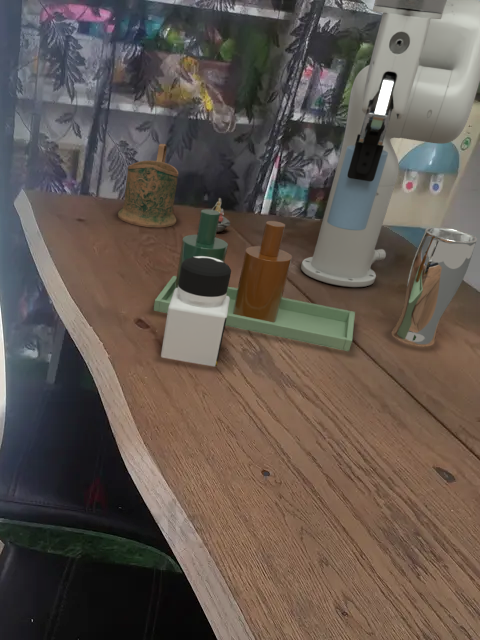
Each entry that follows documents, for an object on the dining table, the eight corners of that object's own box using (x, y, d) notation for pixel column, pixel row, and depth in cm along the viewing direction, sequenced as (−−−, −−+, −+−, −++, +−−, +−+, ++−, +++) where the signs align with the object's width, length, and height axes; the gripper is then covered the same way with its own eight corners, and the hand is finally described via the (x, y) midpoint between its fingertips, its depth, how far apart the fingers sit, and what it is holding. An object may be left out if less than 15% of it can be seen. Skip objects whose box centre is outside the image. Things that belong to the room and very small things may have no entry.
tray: (351, 324, 109) (355, 311, 108) (348, 354, 100) (352, 340, 99) (171, 288, 114) (173, 275, 113) (152, 313, 105) (154, 299, 104)
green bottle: (196, 293, 112) (212, 203, 105) (224, 308, 108) (243, 216, 101) (164, 298, 109) (177, 207, 101) (192, 314, 105) (208, 220, 97)
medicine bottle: (215, 370, 92) (235, 275, 85) (159, 360, 93) (174, 265, 86) (219, 347, 98) (238, 257, 91) (166, 338, 99) (181, 248, 91)
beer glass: (436, 336, 108) (476, 232, 99) (437, 354, 103) (480, 246, 94) (387, 326, 110) (423, 223, 101) (386, 343, 104) (424, 235, 95)
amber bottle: (254, 304, 111) (275, 215, 103) (285, 320, 107) (309, 228, 99) (223, 311, 107) (242, 218, 100) (254, 327, 103) (276, 232, 96)
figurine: (226, 229, 144) (232, 196, 141) (230, 235, 141) (237, 203, 137) (199, 226, 144) (205, 194, 140) (203, 233, 140) (209, 200, 137)
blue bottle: (343, 217, 99) (370, 122, 92) (373, 228, 96) (403, 131, 89) (319, 220, 97) (344, 123, 90) (348, 232, 93) (378, 132, 87)
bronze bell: (183, 208, 153) (193, 145, 146) (171, 230, 139) (181, 162, 132) (129, 200, 155) (136, 137, 148) (112, 221, 141) (119, 153, 134)
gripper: (451, 4, 74) (391, 194, 85) (441, 3, 88) (390, 167, 99) (375, -5, 76) (326, 183, 87) (376, -5, 89) (334, 158, 100)
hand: (360, 173), depth 92 cm, fingers closed on blue bottle, 5 cm apart
